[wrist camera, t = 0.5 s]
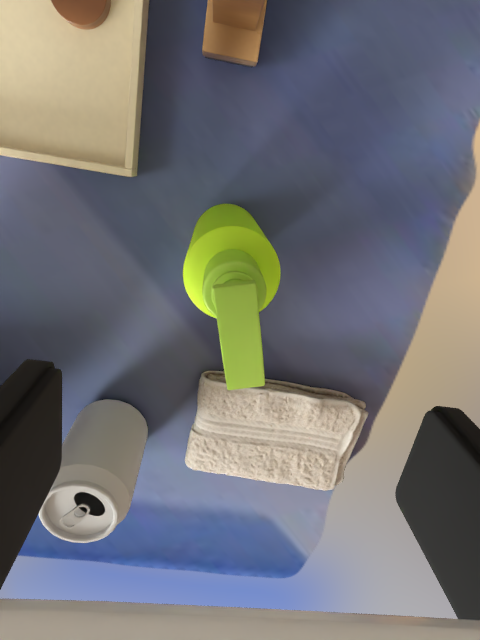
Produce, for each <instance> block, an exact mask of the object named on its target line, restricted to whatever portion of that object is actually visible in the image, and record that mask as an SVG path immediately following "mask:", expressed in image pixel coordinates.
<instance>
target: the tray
mask: <svg viewBox="0 0 480 640" xmlns="http://www.w3.org/2000/svg"><path fill="white" fill-rule="evenodd" d="M148 10H149V0H111V7H110V11H109V14H108V16H107V18H106V20H105V21H104V22H103V23H102V24H101V25H100V26H98V27H97V28H94V29H90V30H84V29H79V28H76V27H74V26H73V25H71V24H70V23H68V22H67V21H66V20H65V19H64V18H63V17H62V16H61V15H60V14H59V13H58V12H57V10H56V9H55V7H54V6H53V4H52V2H51V0H0V155H3V156H8V157H14V158H20V159H26V160H32V161H38V162H44V163H50V164H56V165H62V166H68V167H73V168H79V169H85V170H91V171H97V172H103V173H109V174H115V175H121V176H127V177H135V176H137V167H138V153H139V138H140V124H141V110H142V95H143V81H144V67H145V53H146V38H147V24H148Z"/></svg>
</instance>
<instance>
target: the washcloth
mask: <svg viewBox="0 0 480 640" xmlns="http://www.w3.org/2000/svg"><path fill="white" fill-rule="evenodd" d="M197 399H198V402H197V404H198V409H197V413H196V417H195V422H194V424H193V425H192V428H191V431H190V436H189V439H188V445H187V446H188V447H187V451H186V457H185V463H186V465H187V466H188V467H189V468H192V469H193V470H201V471H204V472H210V473H211V472H213V473H217V474H227V475H232V476H239V477H242V478H249V479H254V480H256V481H257V480H263V481H267V482H275V483H281V484H290V485H295V486H303V487H307V488H311V489H317V490H319V489H322V490H325V491H327V490H332V489H334V486H336V485H338V484H340V483H341V482H342V481H343V479H344V470H345V467H346V464H347V462H348V460H349V458H350V456H351V453H352V450H353V448H354V446H355V443H356V441H357V439H358V437H359V435H360V432H361V430H362V427H363V425H364V422H365V420H366V418H367V416H368V412H367V411H365V408H366V404H365V403H364V402H363V401H360V400H358V399H357V400H355V399H353V398H352V397H350V396H349V395H347V394H345V393H343V392H340V391H335V390H330V389H325V388H312V387H308V386H304V385H300V384H295V383H289V382H284V381H278V380H270V379H265V385H264V386H259V387H252V388H244V389H235V390H227V385H226V378H225V372H223V371H212V370H211V371H205V372H203V373H202V374H201V378H200V380H199V390H198V395H197Z"/></svg>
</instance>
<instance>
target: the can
mask: <svg viewBox="0 0 480 640" xmlns="http://www.w3.org/2000/svg"><path fill="white" fill-rule="evenodd" d="M147 434H148V427H147V424H146V421H145V419H144V417H143V416H142V415H141V413H140V412H139V411H138V410H137V409H135V408H134V407H133V406H131V405H130V404H127V403H125V402H122V401H119V400H109V399H106V400H100V401H95V402H93V403H91V404H89V405H87V406H86V407H85V408H84V409H83V410H82V411H81V412H80V413H79V414H78V416H77V418H76V420H75V422H74V423H73V425H72V427H71V429H70V431H69V433H68V434H67V436H66V438H65V440H64V442H63V444H62V461H61V466H60V470H59V473H58V475H57V477H56V479H55V481H54V483H53V485H52V487H51V489H50V491H49V493H48V495H47V497H46V499H45V501H44V503H43V505H42V507H41V509H40V511H39V517H40V520H41V522H42V524H43V526H44V527H45V528H46V529H47V530H48V531H49V532H50V533H51V534H53V535H55V536H57V537H59V538H60V539H63V540H66V541H70V542H77V543H87V542H93V541H97V540H100V539H102V538H104V537H106V536H108V535H109V534H110V533H111V532H112V531H113V530H114V529H115V527H116V525H118V524H119V523H120V522H121V521H122V520H123V519H124V518H125V516H126V514H127V513H128V511H129V509H130V505H131V501H132V497H133V493H134V489H135V485H136V481H137V477H138V473H139V469H140V465H141V461H142V457H143V452H144V448H145V444H146V440H147Z"/></svg>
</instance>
